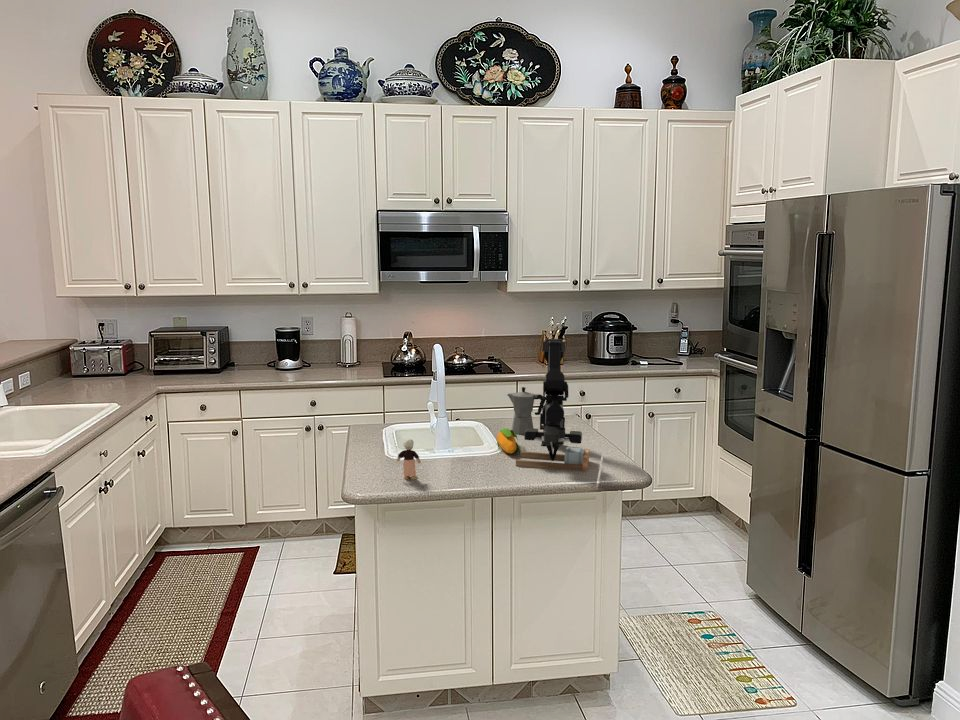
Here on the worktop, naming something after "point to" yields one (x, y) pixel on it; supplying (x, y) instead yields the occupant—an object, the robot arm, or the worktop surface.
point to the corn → (507, 441)
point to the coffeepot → (524, 410)
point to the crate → (574, 455)
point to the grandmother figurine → (409, 460)
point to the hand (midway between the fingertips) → (552, 460)
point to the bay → (551, 464)
